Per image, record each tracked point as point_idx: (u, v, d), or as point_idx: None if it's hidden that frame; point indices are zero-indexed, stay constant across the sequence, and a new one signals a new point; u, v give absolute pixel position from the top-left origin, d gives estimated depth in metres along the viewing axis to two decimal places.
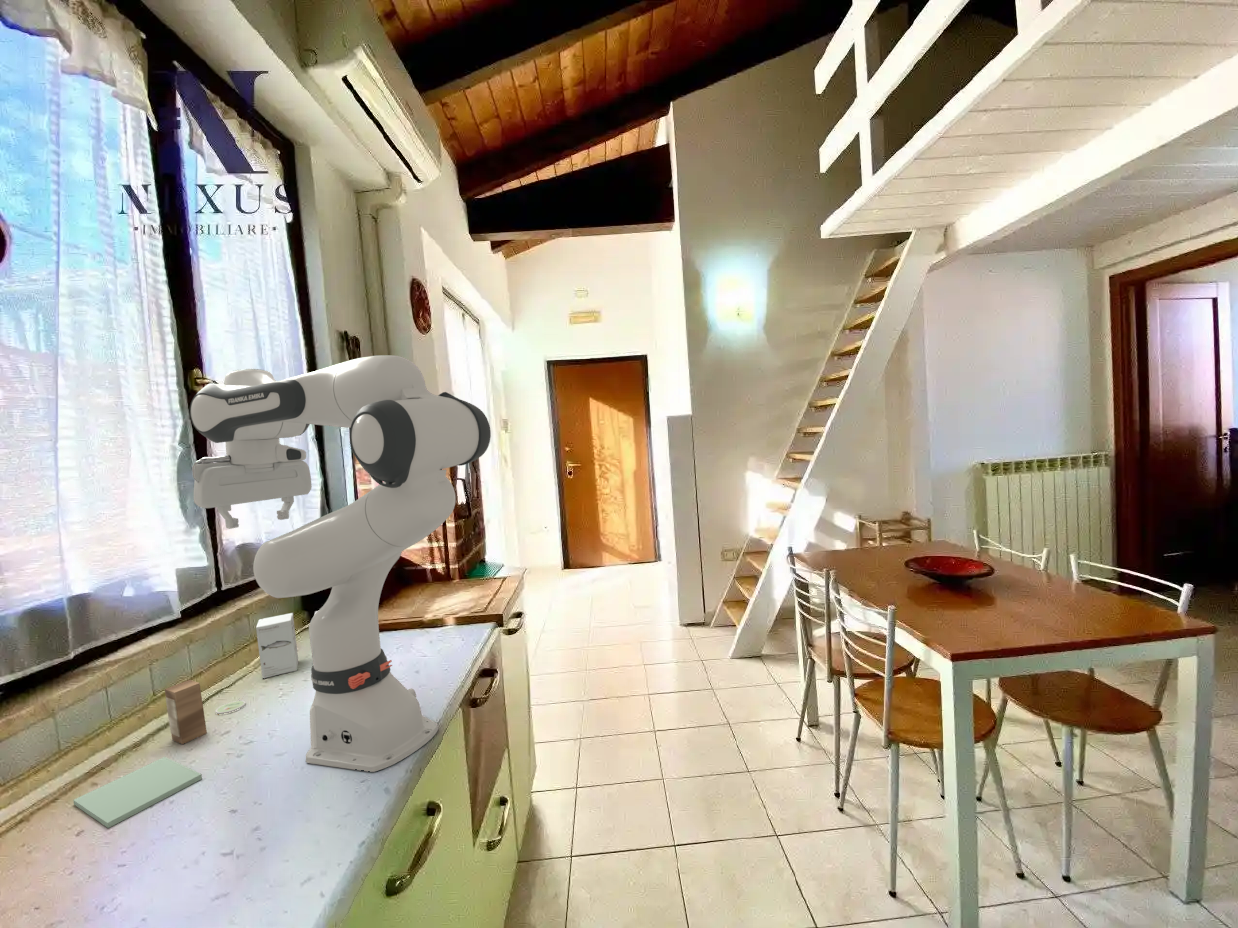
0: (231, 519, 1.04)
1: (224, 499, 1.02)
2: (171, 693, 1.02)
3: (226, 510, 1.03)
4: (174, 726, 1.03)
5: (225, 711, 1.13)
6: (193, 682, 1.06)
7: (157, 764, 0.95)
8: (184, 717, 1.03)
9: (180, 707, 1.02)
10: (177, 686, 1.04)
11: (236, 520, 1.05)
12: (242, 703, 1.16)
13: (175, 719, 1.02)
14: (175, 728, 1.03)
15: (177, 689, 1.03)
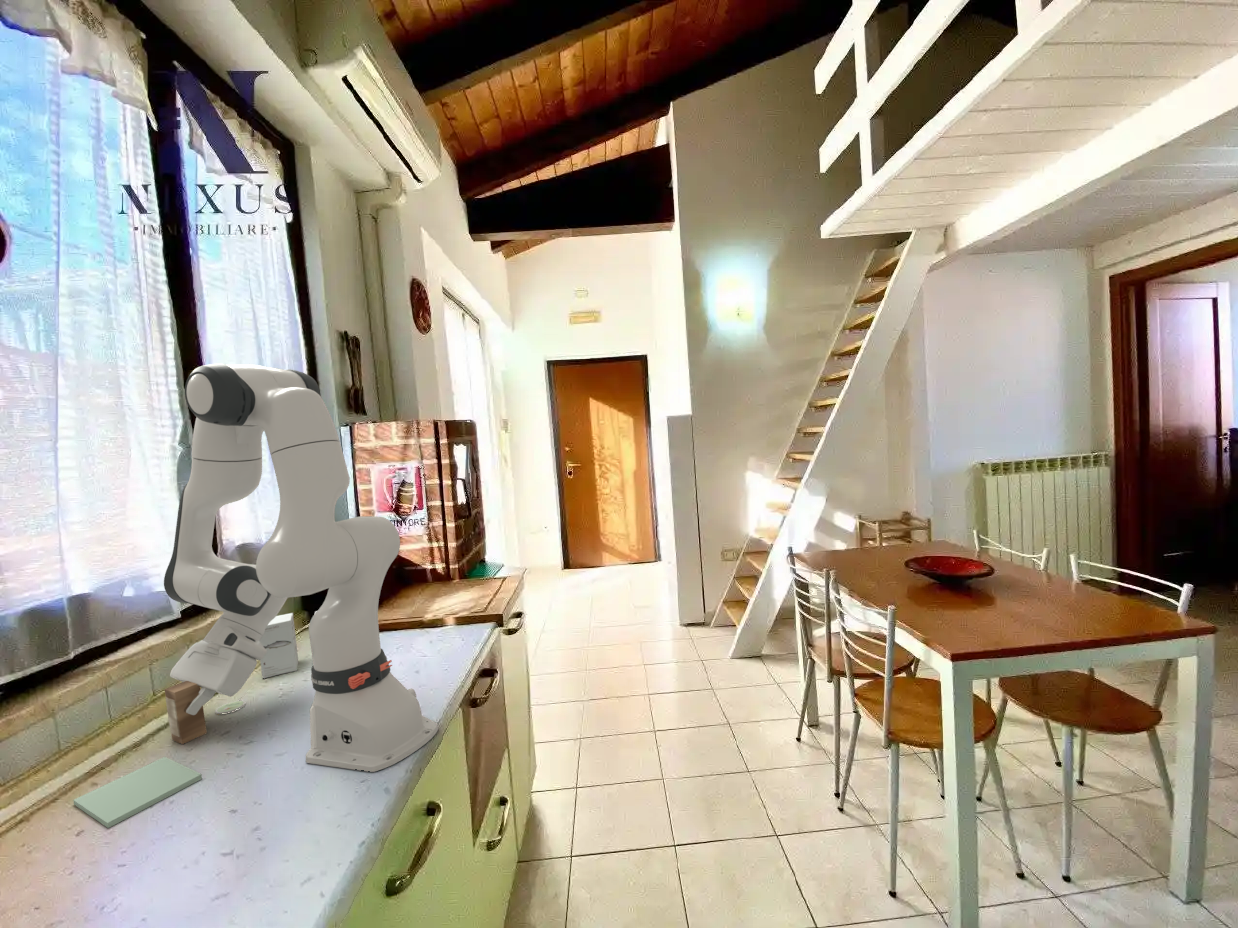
0: None
1: (179, 671, 1.10)
2: (171, 693, 1.02)
3: None
4: (174, 726, 1.03)
5: (225, 711, 1.13)
6: None
7: (157, 764, 0.95)
8: (184, 717, 1.03)
9: (180, 707, 1.02)
10: (177, 686, 1.04)
11: None
12: (242, 703, 1.16)
13: (175, 719, 1.02)
14: (175, 728, 1.03)
15: (177, 689, 1.03)
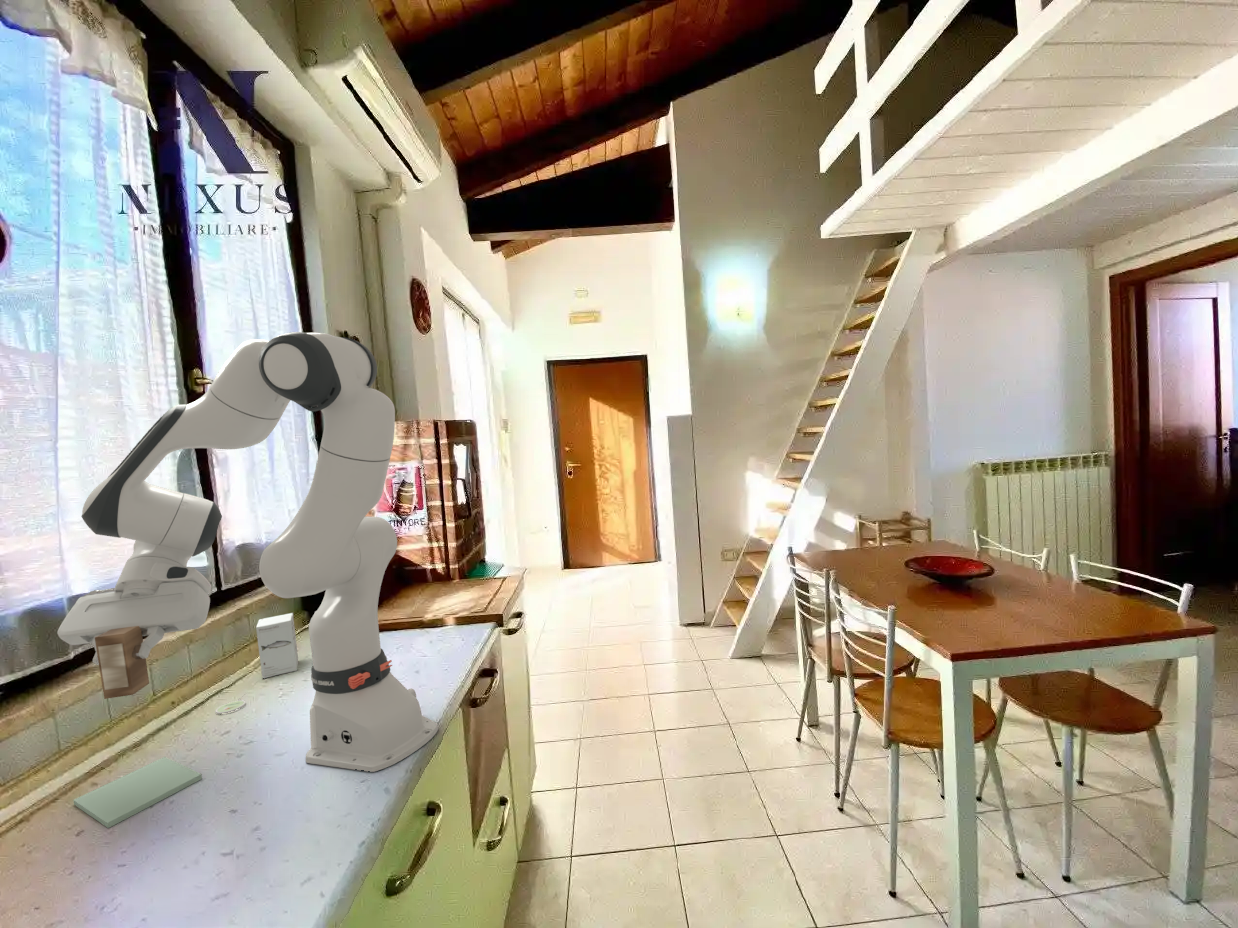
0: None
1: (81, 626, 0.90)
2: (114, 637, 0.87)
3: None
4: (117, 676, 0.87)
5: (225, 711, 1.13)
6: (128, 627, 0.90)
7: (157, 764, 0.95)
8: (132, 662, 0.88)
9: (128, 651, 0.88)
10: (111, 632, 0.88)
11: None
12: (242, 703, 1.16)
13: (121, 666, 0.87)
14: (119, 678, 0.87)
15: (119, 632, 0.88)
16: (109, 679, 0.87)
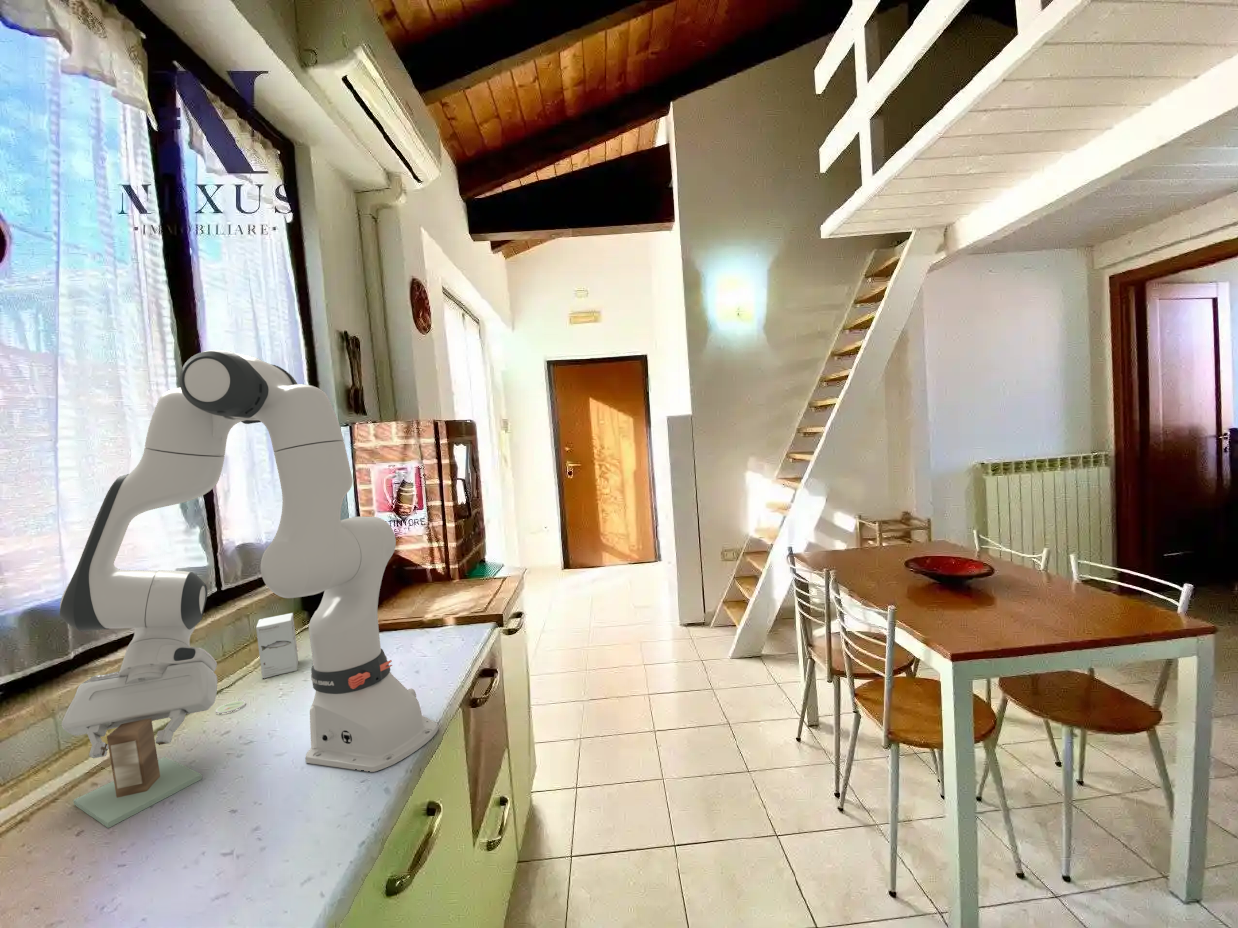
0: (94, 743, 0.87)
1: (87, 717, 0.88)
2: (127, 735, 0.86)
3: (92, 731, 0.88)
4: (130, 774, 0.87)
5: (225, 711, 1.13)
6: (138, 721, 0.90)
7: None
8: (145, 758, 0.88)
9: (142, 747, 0.87)
10: (122, 729, 0.87)
11: (100, 744, 0.87)
12: (242, 703, 1.16)
13: (135, 764, 0.87)
14: (133, 776, 0.87)
15: (131, 729, 0.87)
16: (122, 777, 0.86)
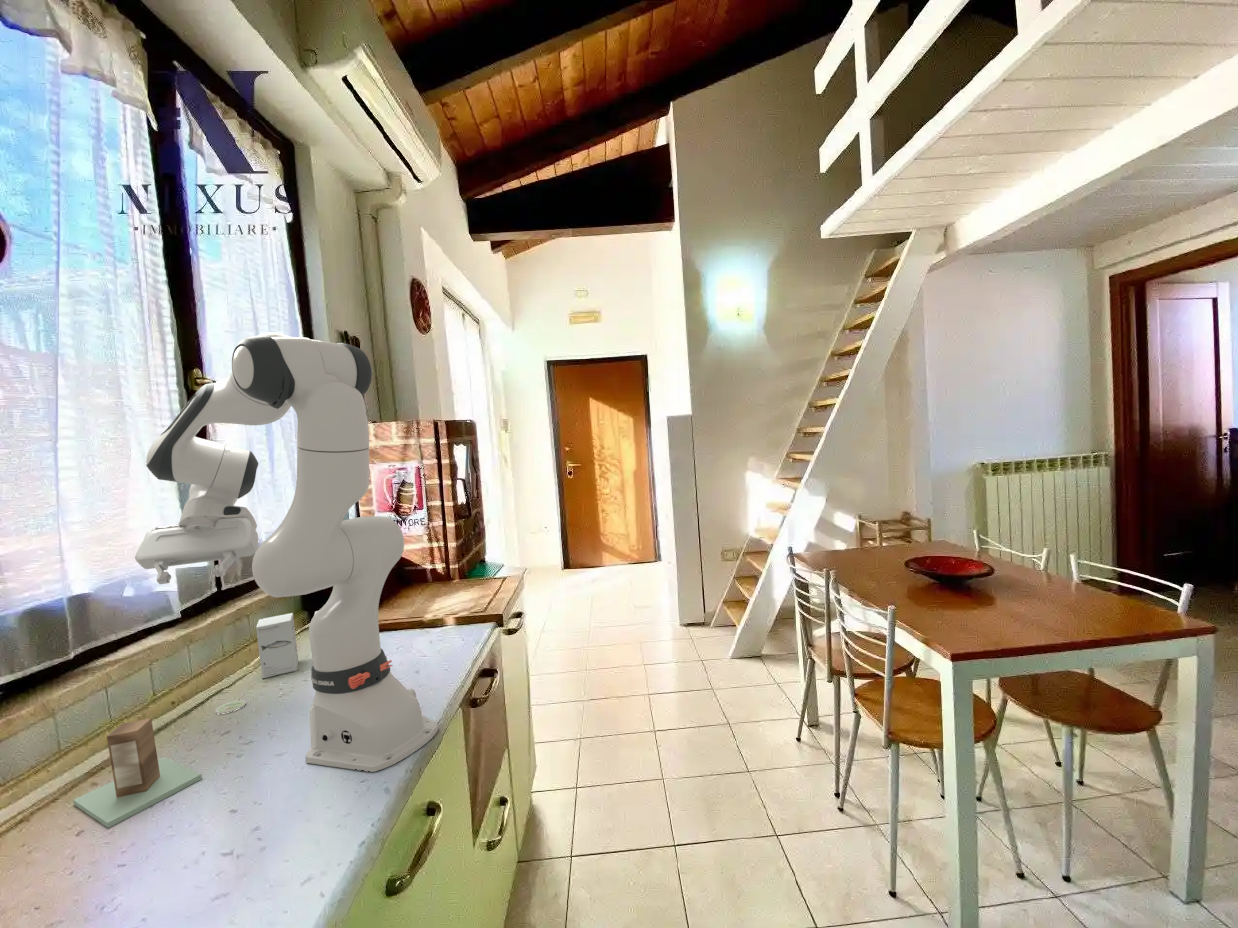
0: (160, 572, 1.07)
1: (155, 552, 1.08)
2: (127, 735, 0.86)
3: (157, 564, 1.08)
4: (130, 774, 0.87)
5: (225, 711, 1.13)
6: (138, 721, 0.90)
7: None
8: (145, 758, 0.88)
9: (142, 747, 0.87)
10: (122, 729, 0.87)
11: (164, 573, 1.07)
12: (242, 703, 1.16)
13: (135, 764, 0.87)
14: (133, 776, 0.87)
15: (131, 729, 0.87)
16: (122, 777, 0.86)
